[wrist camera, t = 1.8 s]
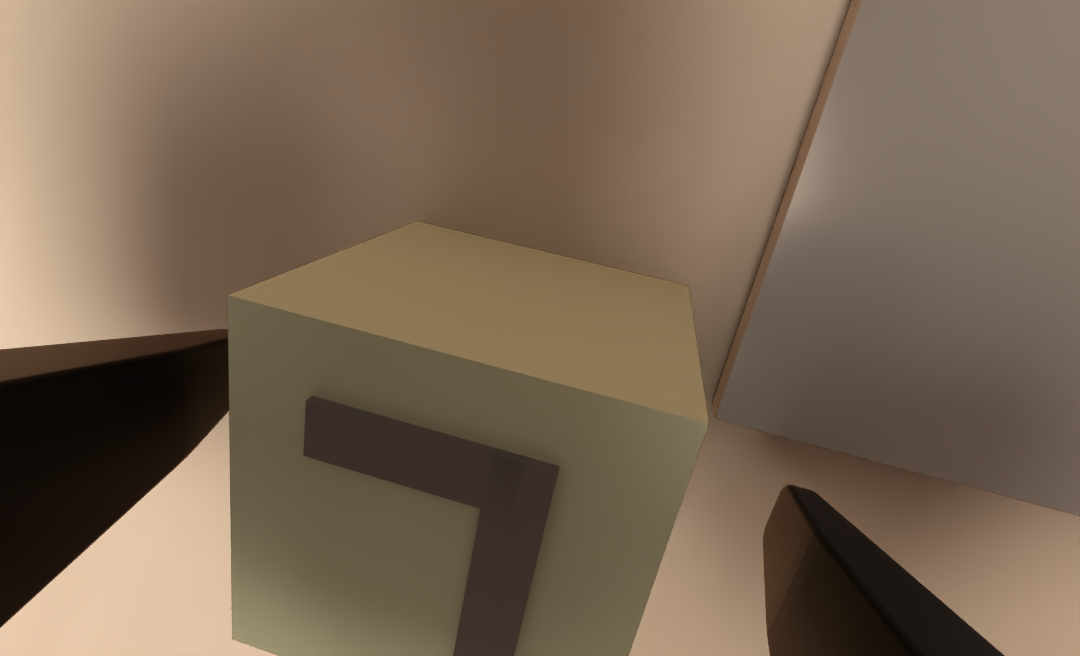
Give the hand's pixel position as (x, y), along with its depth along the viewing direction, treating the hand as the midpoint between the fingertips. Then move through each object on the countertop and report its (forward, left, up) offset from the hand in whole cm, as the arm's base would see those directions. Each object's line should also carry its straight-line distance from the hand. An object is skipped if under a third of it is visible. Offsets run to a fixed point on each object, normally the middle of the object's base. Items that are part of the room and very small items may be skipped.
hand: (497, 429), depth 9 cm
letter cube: (0, 0, -2) cm, 2 cm away
